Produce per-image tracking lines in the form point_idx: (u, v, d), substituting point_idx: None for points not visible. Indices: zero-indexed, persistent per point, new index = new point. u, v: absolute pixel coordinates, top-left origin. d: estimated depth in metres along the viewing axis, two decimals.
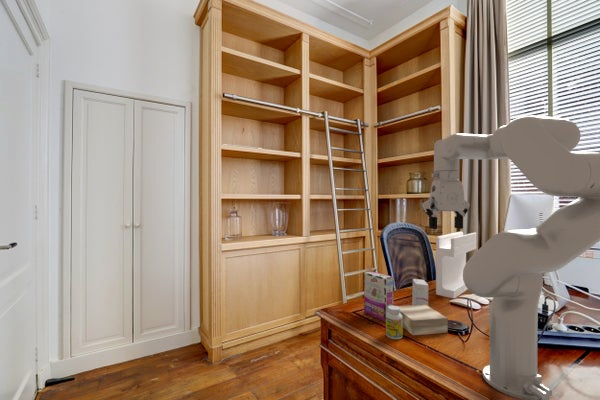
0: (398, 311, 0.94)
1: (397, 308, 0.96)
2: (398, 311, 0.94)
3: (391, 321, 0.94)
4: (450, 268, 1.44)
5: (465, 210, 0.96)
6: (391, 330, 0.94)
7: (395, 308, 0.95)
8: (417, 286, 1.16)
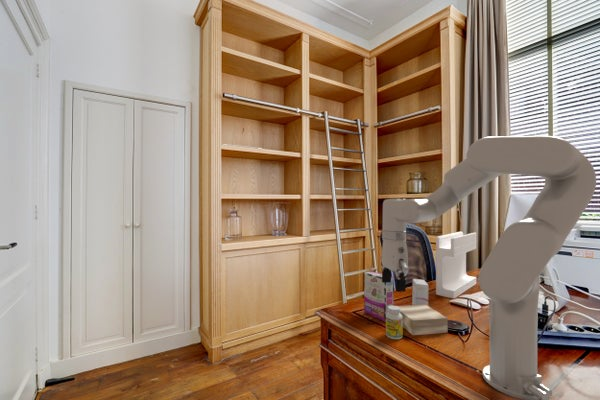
0: (398, 311, 0.94)
1: (397, 308, 0.96)
2: (398, 311, 0.94)
3: (391, 321, 0.94)
4: (450, 268, 1.44)
5: None
6: (391, 330, 0.94)
7: (395, 308, 0.95)
8: (417, 286, 1.16)
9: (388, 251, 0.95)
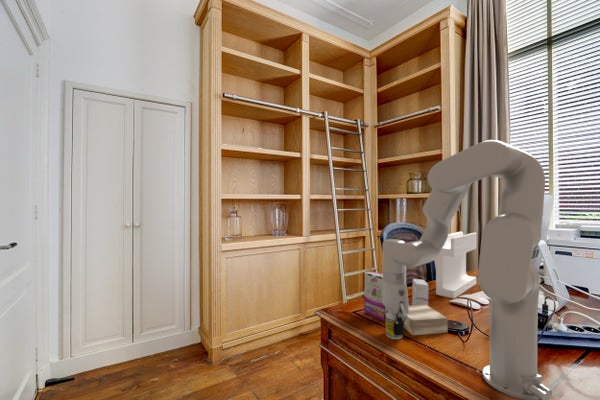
0: (398, 311, 0.94)
1: None
2: (398, 311, 0.94)
3: (391, 321, 0.94)
4: (450, 268, 1.44)
5: None
6: (391, 330, 0.94)
7: None
8: (417, 286, 1.16)
9: (388, 292, 0.95)
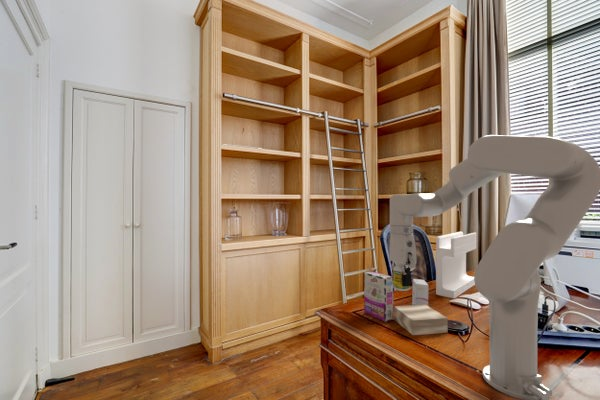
0: None
1: None
2: (405, 264, 0.96)
3: (399, 273, 0.96)
4: (450, 268, 1.44)
5: None
6: (399, 282, 0.96)
7: None
8: (417, 286, 1.16)
9: (396, 245, 0.97)
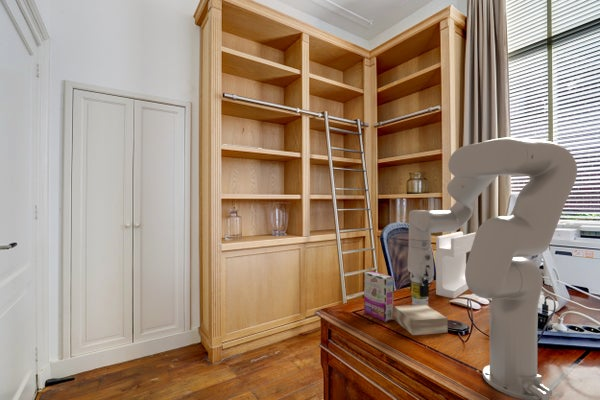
0: None
1: None
2: None
3: (417, 284, 1.02)
4: (450, 268, 1.44)
5: None
6: (417, 292, 1.02)
7: None
8: None
9: (415, 258, 1.03)
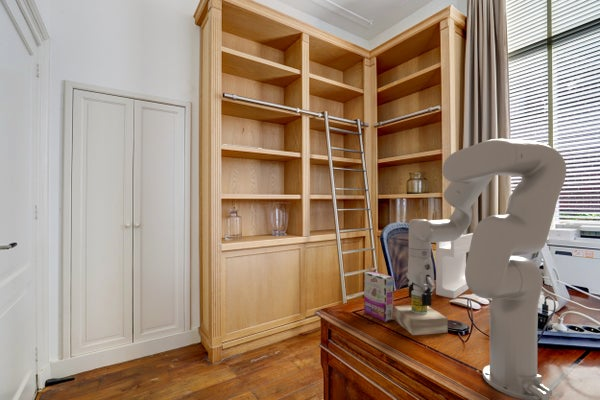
0: None
1: None
2: None
3: (417, 297, 1.02)
4: (450, 268, 1.44)
5: None
6: (417, 306, 1.02)
7: None
8: None
9: (415, 267, 1.03)
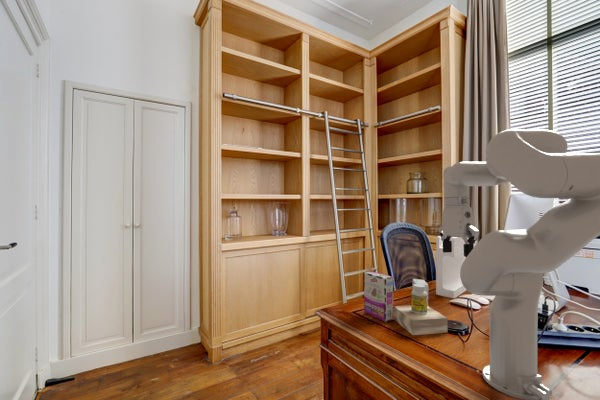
0: (423, 288, 1.03)
1: (422, 285, 1.04)
2: (423, 289, 1.02)
3: (417, 297, 1.02)
4: (450, 268, 1.44)
5: None
6: (417, 306, 1.02)
7: (420, 286, 1.03)
8: None
9: (452, 218, 0.95)
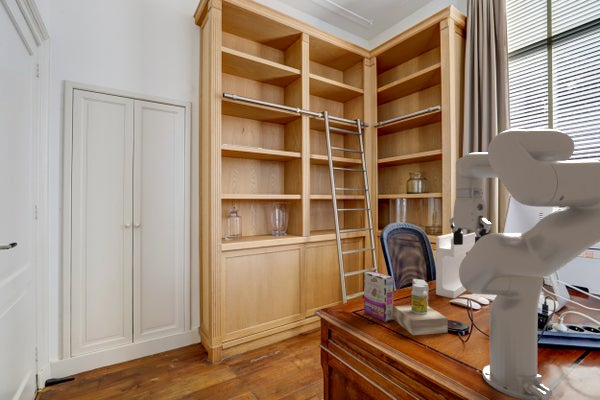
0: (423, 288, 1.03)
1: (422, 285, 1.04)
2: (423, 289, 1.02)
3: (417, 297, 1.02)
4: (450, 268, 1.44)
5: None
6: (417, 306, 1.02)
7: (420, 286, 1.03)
8: None
9: (464, 210, 0.92)
